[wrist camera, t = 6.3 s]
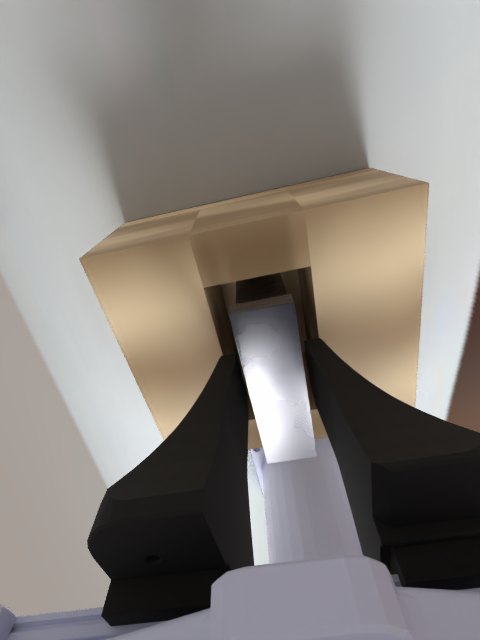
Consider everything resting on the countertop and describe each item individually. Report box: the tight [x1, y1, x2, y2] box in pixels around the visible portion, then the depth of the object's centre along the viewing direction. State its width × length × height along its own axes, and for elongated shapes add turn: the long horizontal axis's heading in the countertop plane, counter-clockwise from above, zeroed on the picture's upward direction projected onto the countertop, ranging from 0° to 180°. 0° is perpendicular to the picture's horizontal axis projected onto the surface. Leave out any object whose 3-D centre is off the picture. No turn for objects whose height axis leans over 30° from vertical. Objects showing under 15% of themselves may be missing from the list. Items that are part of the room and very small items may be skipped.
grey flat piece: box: [229, 273, 317, 464], centre depth 15 cm, size 7×2×7 cm, turn 12°
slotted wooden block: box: [79, 168, 429, 450], centre depth 16 cm, size 11×12×6 cm
